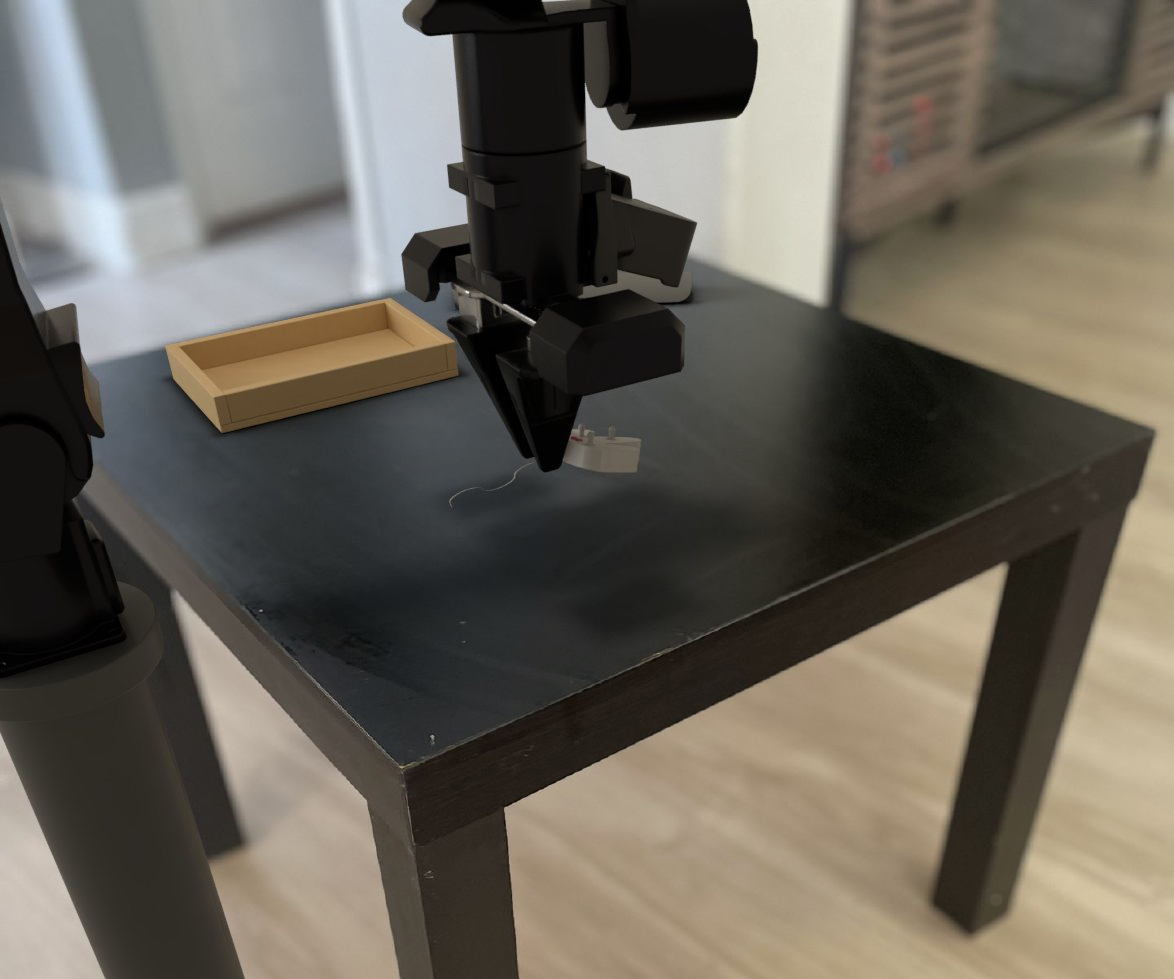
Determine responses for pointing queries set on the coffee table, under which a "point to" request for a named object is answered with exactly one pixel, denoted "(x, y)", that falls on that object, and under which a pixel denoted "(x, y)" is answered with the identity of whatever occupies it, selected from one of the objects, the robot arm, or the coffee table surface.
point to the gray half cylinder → (640, 288)
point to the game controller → (598, 452)
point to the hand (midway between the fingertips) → (541, 463)
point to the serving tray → (310, 363)
